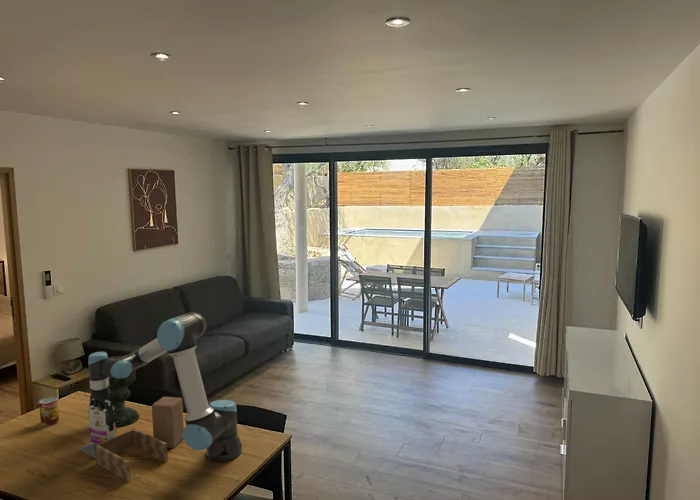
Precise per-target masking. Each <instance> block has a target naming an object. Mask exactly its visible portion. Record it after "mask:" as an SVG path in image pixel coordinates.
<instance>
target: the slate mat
mask: <svg viewBox="0 0 700 500" xmlns="http://www.w3.org/2000/svg"><path fill="white" fill-rule="evenodd" d="M97 444H98V443H94V442H90V443H88V444H85V445H83V446H81V447H80V448H79V450H80V451H82V452H83V453H86V454H87V455H89V456H91V457H92V458H95V459H96V455H95V445H97Z"/></svg>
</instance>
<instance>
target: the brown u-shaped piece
mask: <svg viewBox="0 0 700 500" xmlns="http://www.w3.org/2000/svg"><path fill="white" fill-rule="evenodd" d="M133 448H136V449H137V450H141V451H142V452H145V453H146V454H148V455H150V456H153V457H154V458H157V459H159V460H161V461H163V462H165V463H167V462H168V461H169V457H168V448H167V443H165V442H163V441H161V440H159V439H156V438H154V436H153V435H150V434H147V433H145V432H143V431H141V430H138V429H136V428H132V429H129V430H128V431H125V432H123V433H121V434H119V435H116V437H113V438H111V439H109V440H106V441H104V442H102V443H99V444H97V445H95V455H96V458H95V463H96V464H97V465H98V466H99V467H101V468H103V469H105V470H107V471H109V472H111V473H113V474H114V475H116V476H117V477H119V478H121V479H123V480H124V481H126V482H131V481H132V477H131V462H130V460H128V459H125V458H124V457H122V456H120V454H122V453H124V452H127V451H129V450H130V449H133Z"/></svg>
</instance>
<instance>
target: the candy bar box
mask: <svg viewBox="0 0 700 500" xmlns="http://www.w3.org/2000/svg"><path fill="white" fill-rule="evenodd" d="M112 407H113V406H112ZM104 408H105V407H104ZM113 410H114V407H113ZM87 414H88V425H89V440H90V443H92V442H94V443H98V444H99V443H102V442H104V441H106V440H109V439H111V438H113V437H111V438H109V439H107V428H106V424H107V421H106V416H107V412H106V409H105V410H100V408H99V407H97V406H96V407H94V406H93V405H92V406H90V407H89V406H88V407H87ZM114 414H115V410H114ZM105 415H106V416H105ZM113 428H114V437H116V436H117V431H116V429H117V427H116V426H115V423H113Z"/></svg>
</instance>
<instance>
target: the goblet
mask: <svg viewBox="0 0 700 500" xmlns="http://www.w3.org/2000/svg"><path fill="white" fill-rule="evenodd" d="M123 356H124V355H118V356H117V355H116V356H112V357H111V356H110V357H108V358H109V359H118V358H121V357H123ZM136 372H137V369H135V370H133V371H132V372H131V374H130V375H129V376H128V377H126V378H114V377H109V385H108V386H109V388H110V394H109V395H108V396H107V400H108V401H110V400H111V401H112V406H113V407H114V410H115V418H116V423H115V426H116V428H119V427H124V426H127V425H130V424H133V423H135V422H137V421H138V420H139V419H140V414H139V412H138V411H137V410H136V409H135V408H133V407H130V406H126V405H125V403H126V401H127V400H128V399H129V397H130V396H131V394H132V393H131V390H130V389H129V388H128V387H129V386H131V385H132V384H133V383H134V382H135V380H136V378H137V377H136V376H137V375H136Z"/></svg>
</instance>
